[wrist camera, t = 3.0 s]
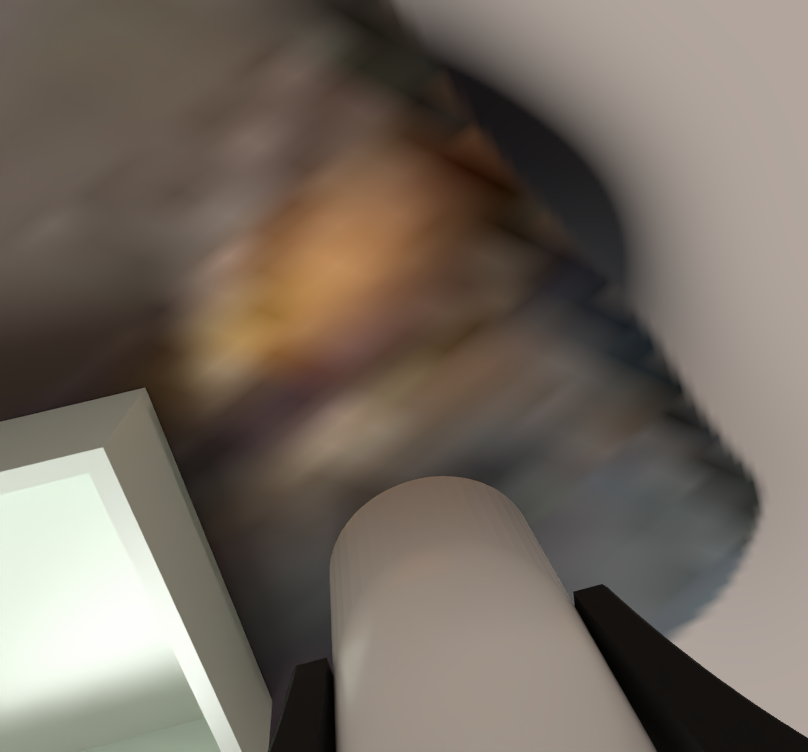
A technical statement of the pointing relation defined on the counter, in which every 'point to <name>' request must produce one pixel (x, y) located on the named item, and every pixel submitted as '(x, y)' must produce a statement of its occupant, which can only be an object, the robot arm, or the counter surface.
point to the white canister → (463, 633)
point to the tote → (114, 595)
